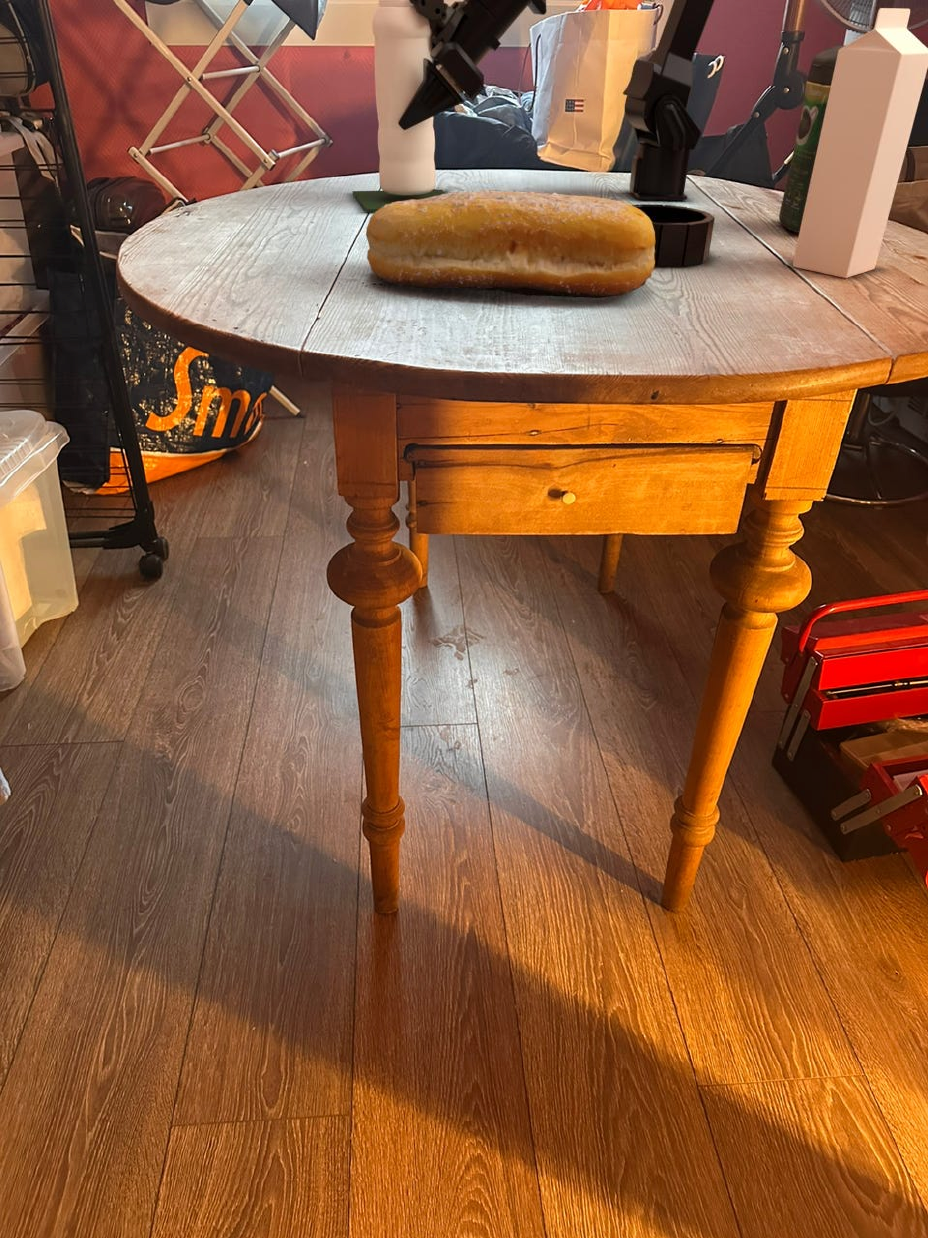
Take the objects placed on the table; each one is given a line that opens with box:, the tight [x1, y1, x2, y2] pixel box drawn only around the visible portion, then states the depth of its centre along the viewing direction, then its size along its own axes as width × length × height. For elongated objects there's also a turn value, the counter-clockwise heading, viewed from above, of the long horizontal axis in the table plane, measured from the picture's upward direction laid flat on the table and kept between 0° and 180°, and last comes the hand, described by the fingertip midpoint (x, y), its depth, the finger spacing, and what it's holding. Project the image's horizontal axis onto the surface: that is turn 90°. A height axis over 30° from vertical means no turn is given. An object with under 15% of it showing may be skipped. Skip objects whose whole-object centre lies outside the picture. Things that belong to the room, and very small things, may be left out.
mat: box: [352, 188, 448, 214], centre depth 117 cm, size 12×12×1 cm
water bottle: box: [371, 0, 437, 195], centre depth 109 cm, size 7×7×25 cm
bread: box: [365, 189, 655, 299], centre depth 83 cm, size 13×26×8 cm, turn 84°
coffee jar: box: [778, 44, 847, 234], centre depth 103 cm, size 10×8×19 cm
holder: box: [631, 203, 716, 268], centre depth 95 cm, size 10×10×4 cm
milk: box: [792, 7, 928, 279], centre depth 87 cm, size 6×6×22 cm
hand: (395, 123), depth 112 cm, fingers closed on water bottle, 7 cm apart
